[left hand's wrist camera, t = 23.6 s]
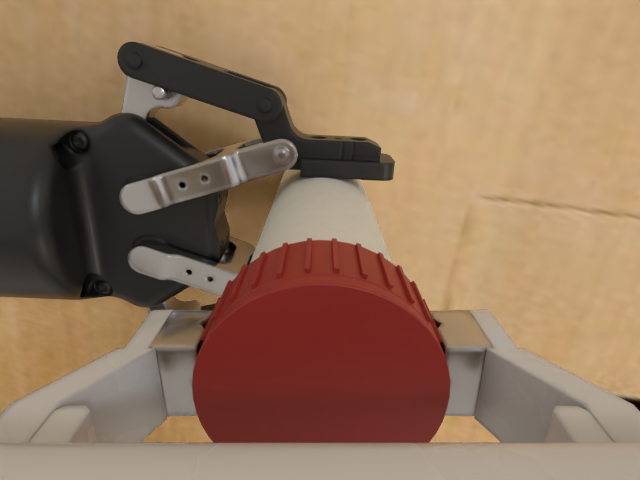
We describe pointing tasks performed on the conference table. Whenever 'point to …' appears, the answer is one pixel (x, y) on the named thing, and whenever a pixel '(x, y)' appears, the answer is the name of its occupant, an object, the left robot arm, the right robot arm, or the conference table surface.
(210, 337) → the lid
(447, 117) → the conference table surface
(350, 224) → the white bottle
